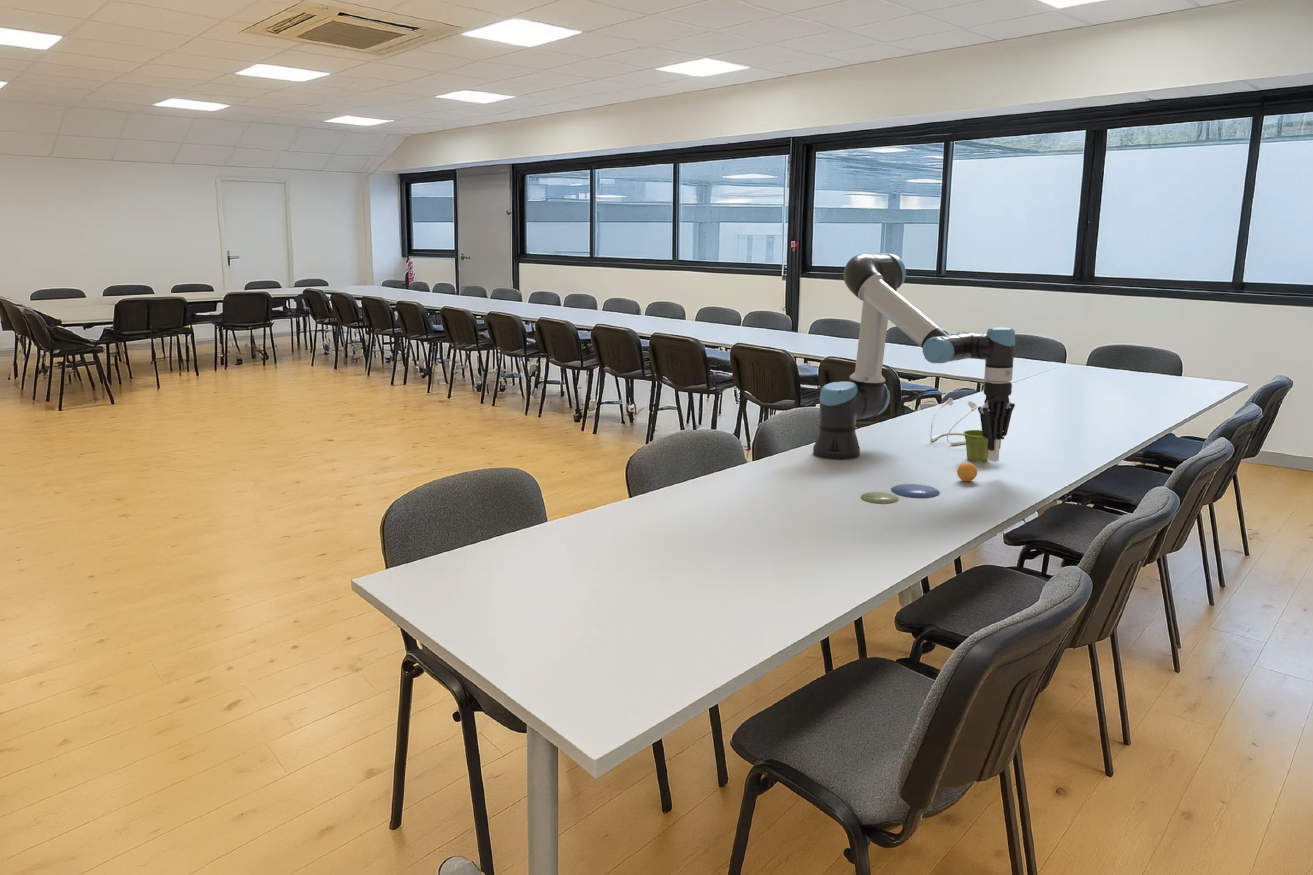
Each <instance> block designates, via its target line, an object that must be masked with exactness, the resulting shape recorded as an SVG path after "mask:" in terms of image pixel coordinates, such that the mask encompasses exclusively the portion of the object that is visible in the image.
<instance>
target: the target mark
mask: <svg viewBox="0 0 1313 875" xmlns="http://www.w3.org/2000/svg"><path fill="white" fill-rule="evenodd" d="M890 489H891V490H890V491H891V493H893V494H894V495H895V494H896V496H897V495H898V496H901V497H905V498H912V499H913V498H914V499H928V498H934V497H937V496H939V495H940V491H939V489H938V488H935V487H933V486H930V485H925V484H924V485H923V484H916V483H903V484H896V485H894V486H892V487H891V488H890Z"/></svg>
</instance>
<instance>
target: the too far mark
mask: <svg viewBox="0 0 1313 875" xmlns="http://www.w3.org/2000/svg"><path fill="white" fill-rule="evenodd" d="M860 498H861V499H862V500H863V501H865V502H868V503H870V504H871V503H873V504H881V505H886V504H894V503H897V502H899V501H900V500H899V496H897V495H895V494H894V493H893V494H892V493H889V492H881V491H871V492H865V493H862V494H861V495H860Z"/></svg>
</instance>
